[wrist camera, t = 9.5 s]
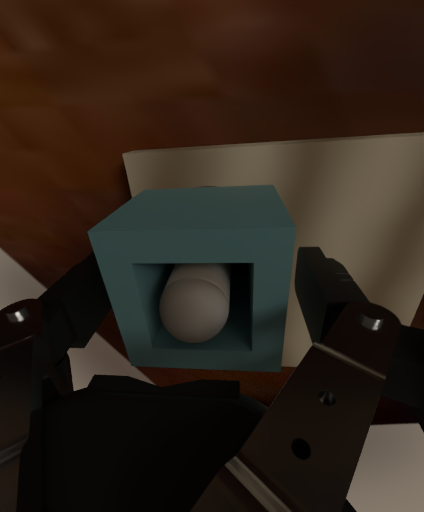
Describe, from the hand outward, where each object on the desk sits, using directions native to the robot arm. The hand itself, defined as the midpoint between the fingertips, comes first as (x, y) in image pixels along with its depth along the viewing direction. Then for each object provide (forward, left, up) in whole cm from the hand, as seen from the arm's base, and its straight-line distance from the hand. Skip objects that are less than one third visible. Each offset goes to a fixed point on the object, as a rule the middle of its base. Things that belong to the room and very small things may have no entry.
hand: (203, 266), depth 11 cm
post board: (-4, +3, -5) cm, 7 cm away
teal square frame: (0, 0, -2) cm, 2 cm away
